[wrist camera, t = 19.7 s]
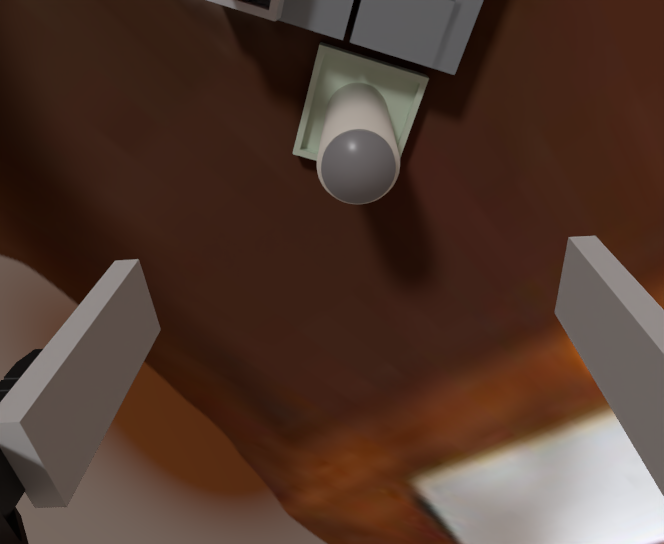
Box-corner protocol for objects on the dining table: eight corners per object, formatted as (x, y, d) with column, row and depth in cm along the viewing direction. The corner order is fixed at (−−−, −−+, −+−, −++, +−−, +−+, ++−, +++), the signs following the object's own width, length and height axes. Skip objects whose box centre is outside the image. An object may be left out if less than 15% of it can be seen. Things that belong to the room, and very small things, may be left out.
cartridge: (323, 84, 39) (312, 129, 29) (387, 80, 39) (400, 123, 28) (328, 147, 42) (319, 210, 31) (388, 143, 42) (400, 205, 31)
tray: (294, 148, 43) (292, 153, 41) (320, 41, 38) (319, 44, 37) (390, 175, 44) (391, 181, 42) (426, 74, 39) (429, 78, 38)
